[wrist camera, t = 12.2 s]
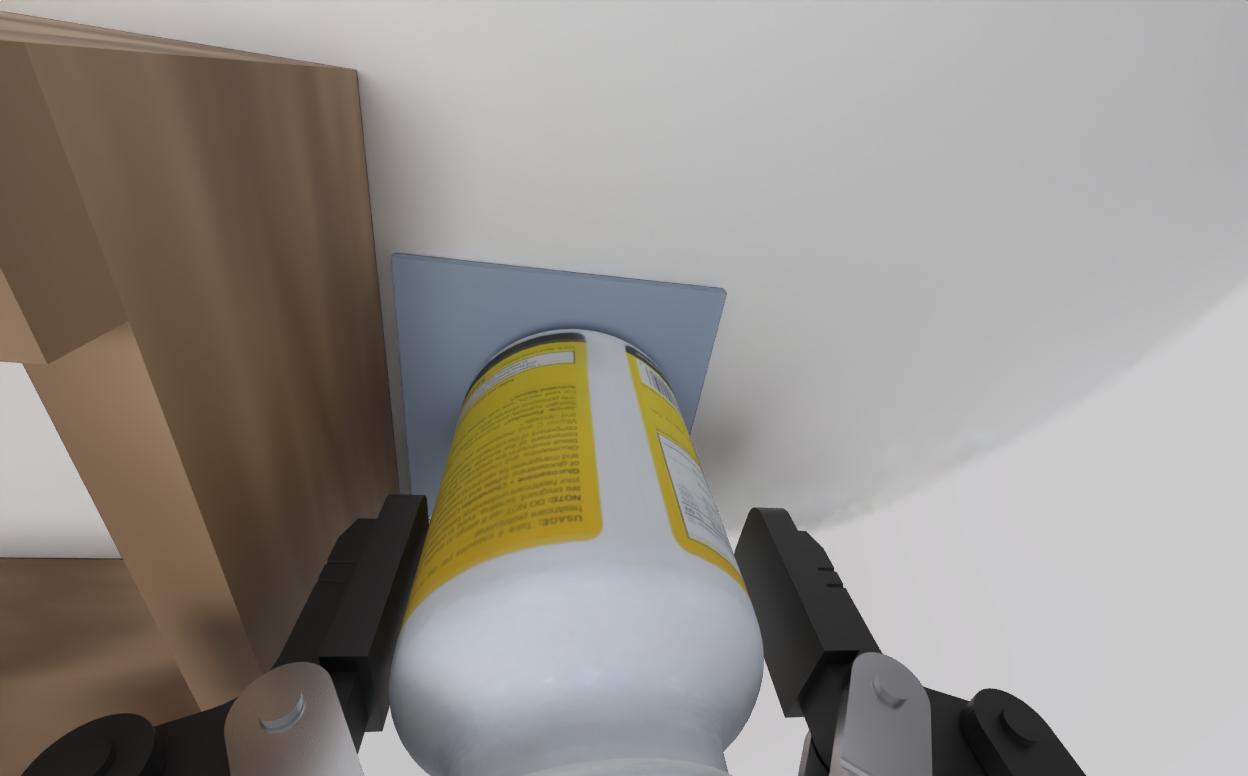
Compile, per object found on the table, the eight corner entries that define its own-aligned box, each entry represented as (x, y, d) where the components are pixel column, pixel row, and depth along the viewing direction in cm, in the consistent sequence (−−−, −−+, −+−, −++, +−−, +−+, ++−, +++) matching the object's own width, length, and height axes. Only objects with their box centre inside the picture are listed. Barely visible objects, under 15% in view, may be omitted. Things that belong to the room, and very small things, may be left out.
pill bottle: (425, 435, 15) (197, 1058, 6) (544, 273, 13) (505, 856, 3) (592, 515, 18) (631, 1032, 8) (716, 393, 16) (968, 911, 6)
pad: (722, 288, 15) (726, 293, 14) (665, 513, 19) (667, 521, 19) (395, 253, 13) (390, 257, 13) (416, 507, 17) (413, 515, 17)
